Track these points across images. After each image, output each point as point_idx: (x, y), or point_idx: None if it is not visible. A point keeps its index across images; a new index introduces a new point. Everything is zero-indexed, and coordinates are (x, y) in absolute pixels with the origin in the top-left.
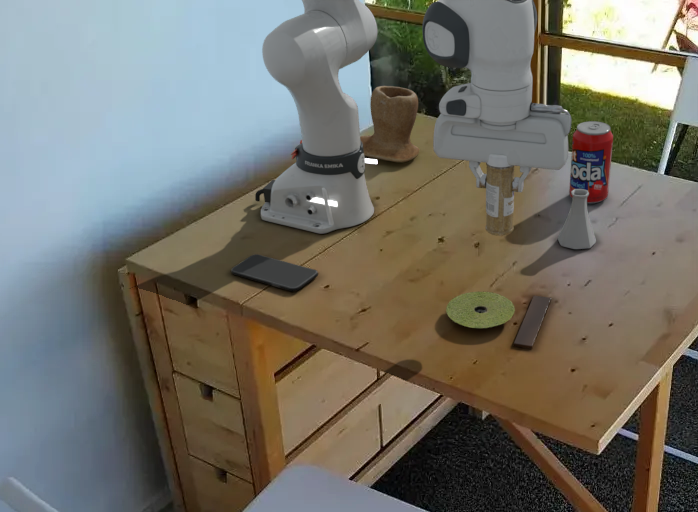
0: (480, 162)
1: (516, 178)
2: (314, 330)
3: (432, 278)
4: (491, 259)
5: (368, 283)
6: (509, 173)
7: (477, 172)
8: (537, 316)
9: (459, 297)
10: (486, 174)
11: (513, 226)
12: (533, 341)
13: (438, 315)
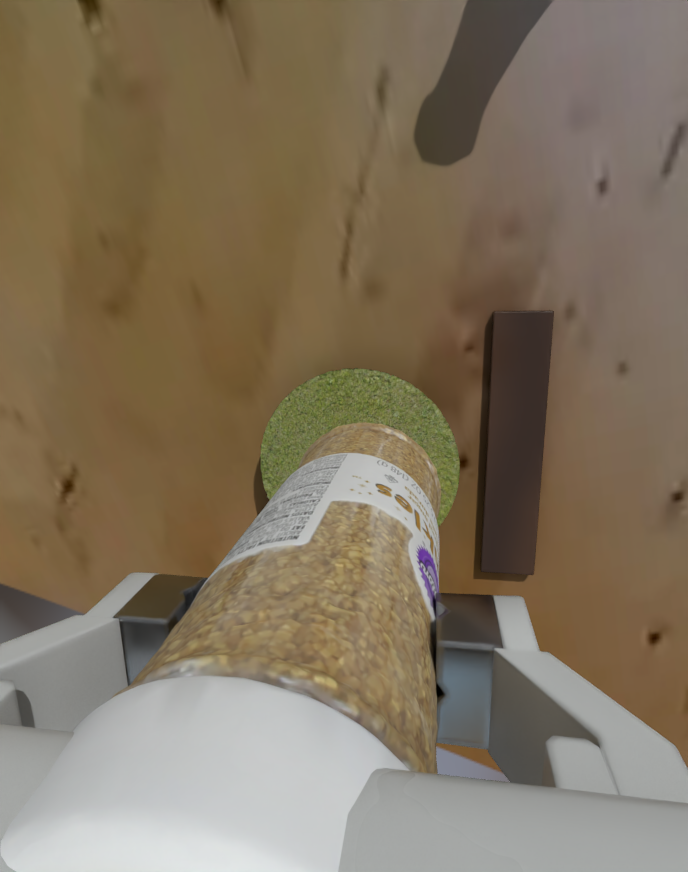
0: (16, 723)
1: (461, 674)
2: (11, 586)
3: (161, 277)
4: (296, 86)
5: (14, 355)
6: None
7: None
8: (525, 431)
9: (280, 421)
10: (155, 633)
11: (437, 478)
12: (534, 555)
13: (249, 467)
